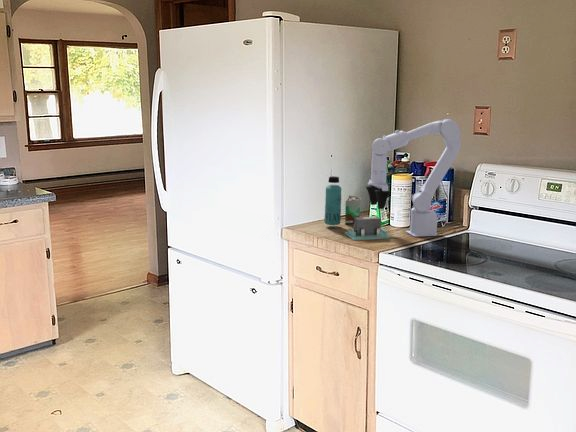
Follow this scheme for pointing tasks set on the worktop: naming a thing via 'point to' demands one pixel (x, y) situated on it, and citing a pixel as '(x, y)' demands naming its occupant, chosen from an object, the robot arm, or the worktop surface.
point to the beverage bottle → (333, 202)
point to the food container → (352, 209)
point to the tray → (367, 237)
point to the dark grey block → (367, 225)
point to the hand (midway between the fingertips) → (377, 206)
